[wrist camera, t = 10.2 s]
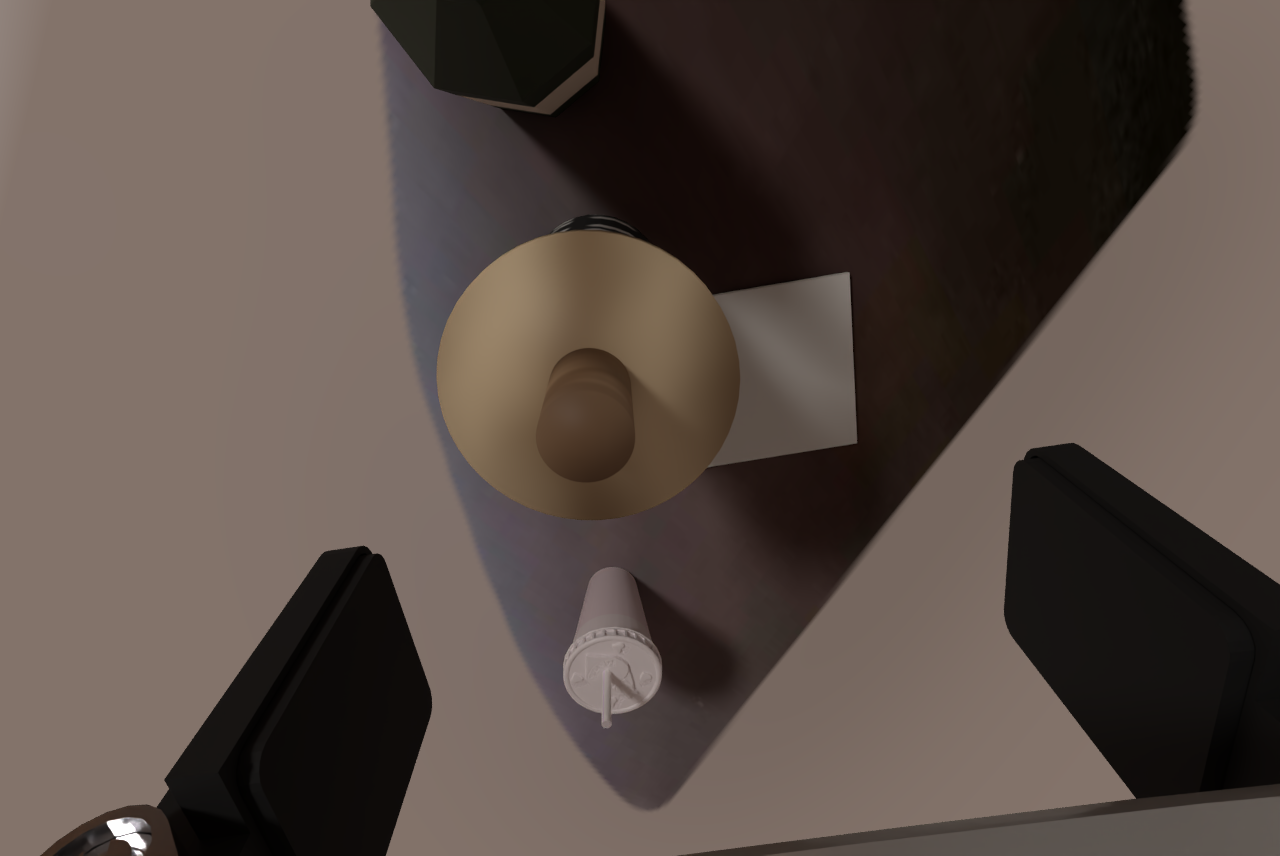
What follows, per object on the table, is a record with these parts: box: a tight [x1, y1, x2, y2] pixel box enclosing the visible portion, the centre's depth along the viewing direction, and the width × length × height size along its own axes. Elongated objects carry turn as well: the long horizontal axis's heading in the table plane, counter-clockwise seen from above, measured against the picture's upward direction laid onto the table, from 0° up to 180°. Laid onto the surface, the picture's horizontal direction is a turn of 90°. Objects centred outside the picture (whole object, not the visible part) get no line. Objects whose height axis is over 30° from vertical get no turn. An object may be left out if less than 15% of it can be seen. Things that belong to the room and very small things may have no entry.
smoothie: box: [563, 567, 662, 728], centre depth 47 cm, size 6×6×14 cm
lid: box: [437, 230, 740, 520], centre depth 24 cm, size 11×11×6 cm
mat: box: [708, 272, 857, 467], centre depth 47 cm, size 12×12×1 cm
